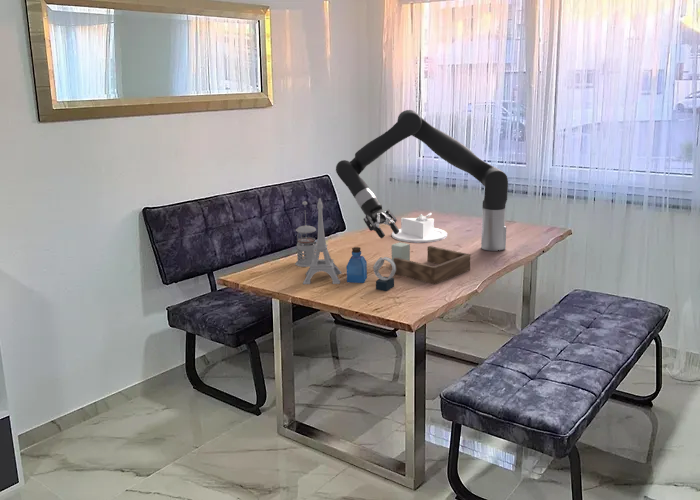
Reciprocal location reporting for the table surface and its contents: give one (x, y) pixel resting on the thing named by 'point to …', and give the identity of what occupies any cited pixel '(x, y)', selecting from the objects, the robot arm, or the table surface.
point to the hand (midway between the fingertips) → (390, 234)
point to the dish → (419, 230)
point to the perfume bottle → (356, 267)
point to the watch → (384, 282)
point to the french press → (305, 245)
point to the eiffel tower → (327, 262)
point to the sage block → (401, 251)
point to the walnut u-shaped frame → (447, 268)
